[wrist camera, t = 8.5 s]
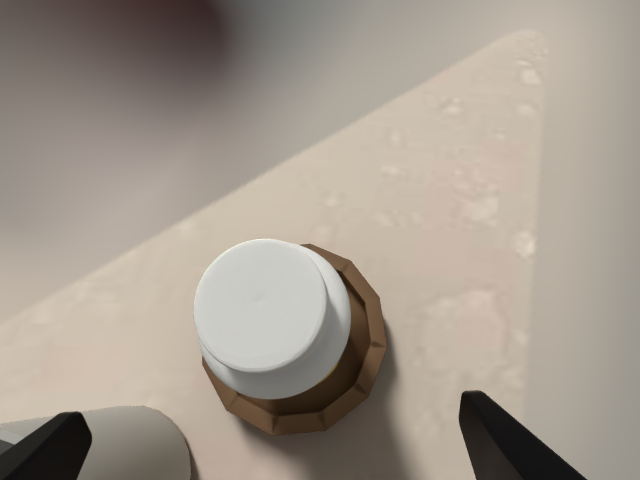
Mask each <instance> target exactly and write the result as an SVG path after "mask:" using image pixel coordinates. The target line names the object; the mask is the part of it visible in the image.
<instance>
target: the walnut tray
mask: <svg viewBox="0 0 640 480" xmlns="http://www.w3.org/2000/svg"><path fill="white" fill-rule="evenodd" d="M300 246H303V247H306V248H308V249H310V250H312V251H314V252H316V253H317V254H319V255H320V256H321V257H323V258H324V259H325V260H326V261H327V262H329V263H330V264H331V266H332V267H333V268H334V269H335V270H336V272H337V273H338V274H339V276H340V278H341V279H342V281H343V283H344V285H345V288H346V291H347V293H348V297H349V302H350V308H351V326H350V333H349V338H348V341H347V346H346V348H345V350H344V352H343V355H342V357H341V359H340V362H339V364H338V365H337V367H336V368H335V369H334V371H333V372H332V373H331V374H330V375H329V376H328V377H327V378H326V379H324V380H323V381H322V382H320V383H318V384H317V385H315V386H314V387H312V388H310V389H308V390H306V391H304V392H302V393H300V394H297V395H294V396H291V397H287V398H281V399H258V398H253V397H249V396H246V395H244V394H241V393H239V392H237V391H235V390H233V389H231V388H230V387H228V386H227V385H225V384H224V383H223V382H222V381H221V380H220V379H219V378H218V377H217V376H216V375H215V374H214V373H213V372H212V370H211V369H210V367H209V366H208V364H207V363H206V361H205V359H204V357H202V364H203V367H204V369H205V371H206V373H207V375H208V376H209V378H210V380H211V382H212V384H213V386H214V388H215V390H216V392H217V394H218V395H219V397H220V399H221V401H222V403H223V405H224V407H225V409H226V410H227V411H229V412H230V413H232V414H234V415H236V416H238V417H239V418H241V419H243V420H245V421H247V422H248V423H250V424H252V425H254V426H256V427H257V428H259V429H261V430H263V431H265V432H266V433H268V434H270V435H272V436H274V435H285V434H295V433H306V432H316V431H326V430H327V429H328V428H330V427H331V426H332V425H333V424H335V423H336V422H337V421H338V420H340V419H341V418H342V417H343V416H345V415H346V414H347V413H348V412H350V411H351V410H352V409H354V408H355V407H356V406H357V405H359V404H360V403H361V402H362V401H364V400H365V399H366V398H367V397H368V396H369V394H370V391H371V388H372V386H373V383H374V381H375V378H376V375H377V373H378V370H379V367H380V365H381V362H382V359H383V357H384V354H385V351H386V349H387V342H386V336H385V330H384V323H383V317H382V310H381V304H380V298H379V296H378V295H377V294H376V292H375V291H374V290H373V289H372V287H371V286H370V285H369V283H368V282H367V281H366V280H365V278H364V277H363V276H362V274H361V273H360V272H359V271H358V269H357V268H356V267H355V266H354V264H353V263H352V262H351V261H350V260H347V259H345V258H343V257H340V256H338V255H336V254H333V253H331V252H328V251H326V250H324V249H321V248H319V247H317V246H314V245H312V244H303V245H300Z"/></svg>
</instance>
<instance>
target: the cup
mask: <svg viewBox="0 0 640 480" xmlns="http://www.w3.org/2000/svg"><path fill="white" fill-rule="evenodd" d="M80 413H82V414H83V416H84V418H85V420H86V422H87V424H88V427H89V429H90V431H91V433H92V444H91V447H90V450H89V452H88V454H87V457H86V459H85V461H84V464H83V466H82V469H81V471H80V473H79V476H78V478H77V480H190V478H191V466H190V457H189V450H188V448H187V445H186V442H185V440H184V437H183V434H182V433H181V431H180V430H179V429H178V427H177V426H176V425H175V423H174V422H173V421H172V420H171V419H170V418H168V417H167V416H166V415H164V414H163V413H162V412H160V411H159V410H155V409H152V408H149V407H146V406H117V407H110V408H104V409H97V410H90V411H84V412H80ZM53 417H55V416H50V417H44V418H37V419H30V420H24V421H17V422H10V423H4V424H0V455H1V454H2V453H3V452H5V451H6V450H8V449H9V448H11V447H12V446H13V445H15V444H16V443H18V442H19V441H21V440H22V439H23V438H25V437H26V436H28V435H29V434H31V433H32V432H33V431H35V430H36V429H38V428H39V427H41V426H42V425H43V424H45V423H46V422H48V421H49V420H51V419H52V418H53Z"/></svg>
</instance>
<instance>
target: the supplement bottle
mask: <svg viewBox="0 0 640 480" xmlns="http://www.w3.org/2000/svg"><path fill="white" fill-rule="evenodd" d="M193 311H194V323H195V327H196V331H197V337H198V342H199V346H200V349H201V353H202V355H203V357H204V359H205V361H206V363H207V364H208V366H209V367H210V369H211V370H212V372H213V373H214V374H215V375H216V376H217V377H218V378H219V379H220V380H221V381H222V382H223V383H224V384H225V385H227V386H228V387H230V388H231V389H233V390H235V391H237V392H239V393H241V394H244V395H246V396H249V397H253V398H258V399H281V398H287V397H291V396H294V395H297V394H300V393H302V392H304V391H306V390H308V389H310V388H312V387H314V386H315V385H317V384H318V383H320V382H322V381H323V380H324V379H326V378H327V377H328V376H329V375H330V374H331V373H332V372H333V371H334V369H335V368H336V367H337V365H338V364H339V362H340V359H341V357H342V355H343V352H344V350H345V348H346V346H347V341H348V338H349V333H350V326H351V308H350V302H349V297H348V293H347V291H346V288H345V285H344V283H343V281H342V279H341V278H340V276H339V274H338V273H337V272H336V270H335V269H334V268H333V267H332V266H331V264H330V263H329V262H327V261H326V260H325V259H324V258H323V257H321V256H320V255H319V254H317V253H316V252H314V251H312V250H310V249H308V248H306V247H303V246H300V245H297V244H293V243H287V242H284V241H280V240H275V239H254V240H250V241H246V242H243V243H240V244H238V245H236V246H233V247H232V248H230V249H228V250H226V251H225V252H224V253H222V254H221V255H220V256H219V257H218V258H216V259H215V260H214V262H213V263H212V264H211V265H210V266H209V267H208V269H207V270H206V271H205V273H204V275H203V277H202V278H201V281H200V283H199V285H198V287H197V291H196V295H195V299H194V308H193Z"/></svg>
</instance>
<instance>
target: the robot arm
mask: <svg viewBox="0 0 640 480" xmlns="http://www.w3.org/2000/svg"><path fill="white" fill-rule="evenodd" d="M459 424H460V428H461V431H462V434H463V438H464V441H465V444H466V447H467V451H468V454H469V457H470V460H471V464H472V467H473V470H474V473H475V477H476V480H587V479H586V478H585V477H583V476H582V475H581V474H580V473H578V472H577V471H576V470H575V469H574V468H573V467H572V466H570V465H569V464H568V463H567V462H565V461H564V460H563V459H562V458H561V457H560V456H558V455H557V454H556V453H555V452H554V451H553V450H551V449H550V448H549V447H548V446H546V445H545V444H544V443H543V442H542V441H541V440H539V439H538V438H537V437H536V436H535V435H534V434H532V433H531V432H530V431H529V430H528V429H526V428H525V427H524V426H523V425H522V424H521V423H519V422H518V421H517V420H516V419H515V418H513V417H512V416H511V415H510V414H509V413H508V412H506V411H505V410H504V409H503V408H502V407H500V406H499V405H498V404H497V403H496V402H494V401H493V400H492V399H491V398H490V397H489V396H487V395H486V394H485V393H484V392H482V391H479V390H475V391H464V392H463V393H462V396H461V403H460V410H459ZM91 444H92V433H91V431H90V429H89V427H88V424H87V422H86V420H85V418H84V416H83V414H82V413H80V412H77V411H75V412H63V413H60V414H58V415H56V416H55V417H53V418H52V419H51V420H49V421H48V422H46V423H45V424H43V425H42V426H41V427H39V428H38V429H36V430H35V431H33V432H32V433H31V434H29V435H28V436H26V437H25V438H23V439H22V440H21V441H19V442H18V443H16V444H15V445H13V446H12V447H11V448H9V449H8V450H6V451H5V452H3V453H2V454H1V455H0V480H77V478H78V476H79V473H80V471H81V469H82V466H83V464H84V461H85V459H86V457H87V454H88V452H89V450H90V447H91Z"/></svg>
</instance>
